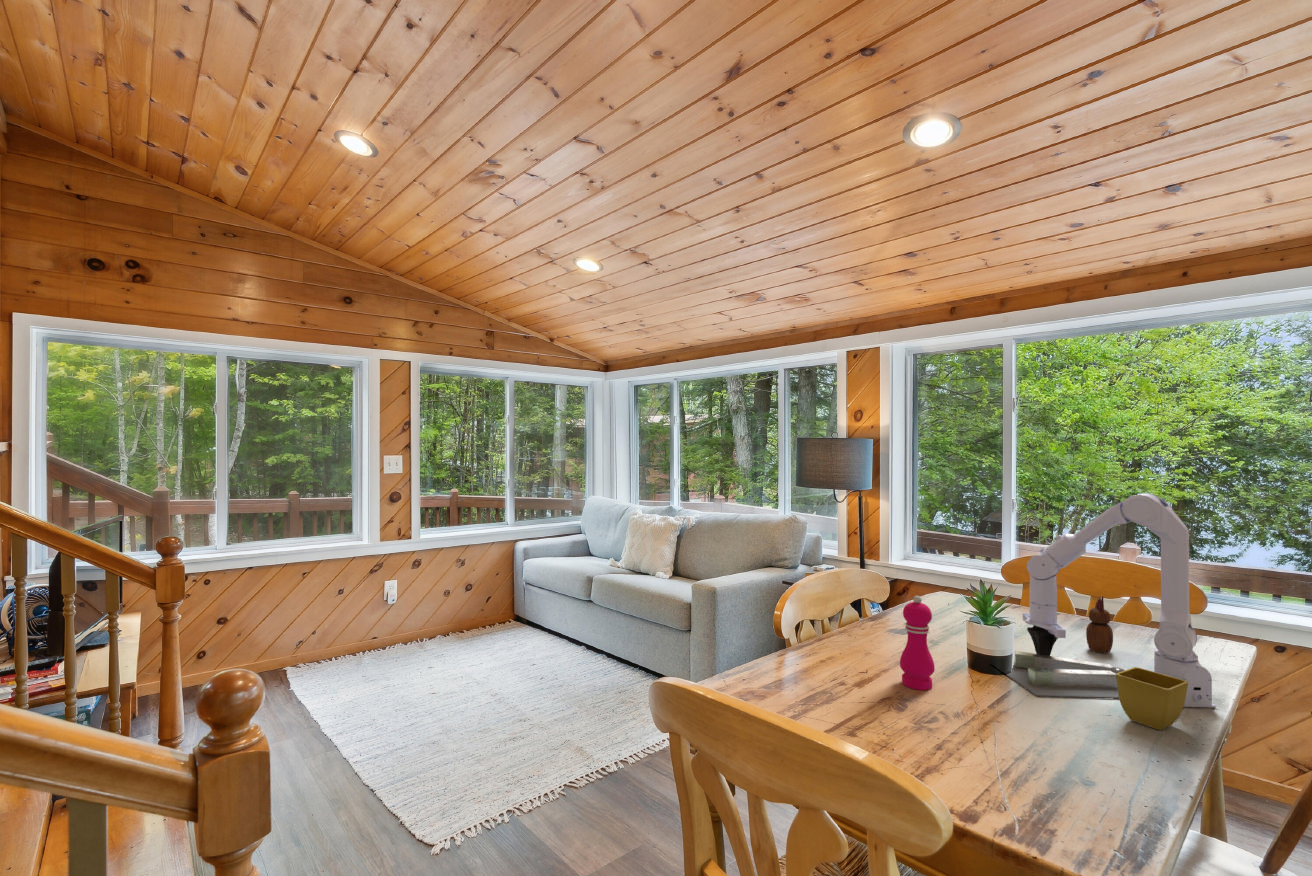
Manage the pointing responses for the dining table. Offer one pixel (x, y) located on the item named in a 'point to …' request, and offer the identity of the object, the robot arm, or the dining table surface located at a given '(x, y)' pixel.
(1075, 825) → the dining table surface
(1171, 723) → the flower pot
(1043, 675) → the fixed arm
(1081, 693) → the mat
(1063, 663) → the hinged arm
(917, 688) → the pepper mill
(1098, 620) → the wooden figurine
